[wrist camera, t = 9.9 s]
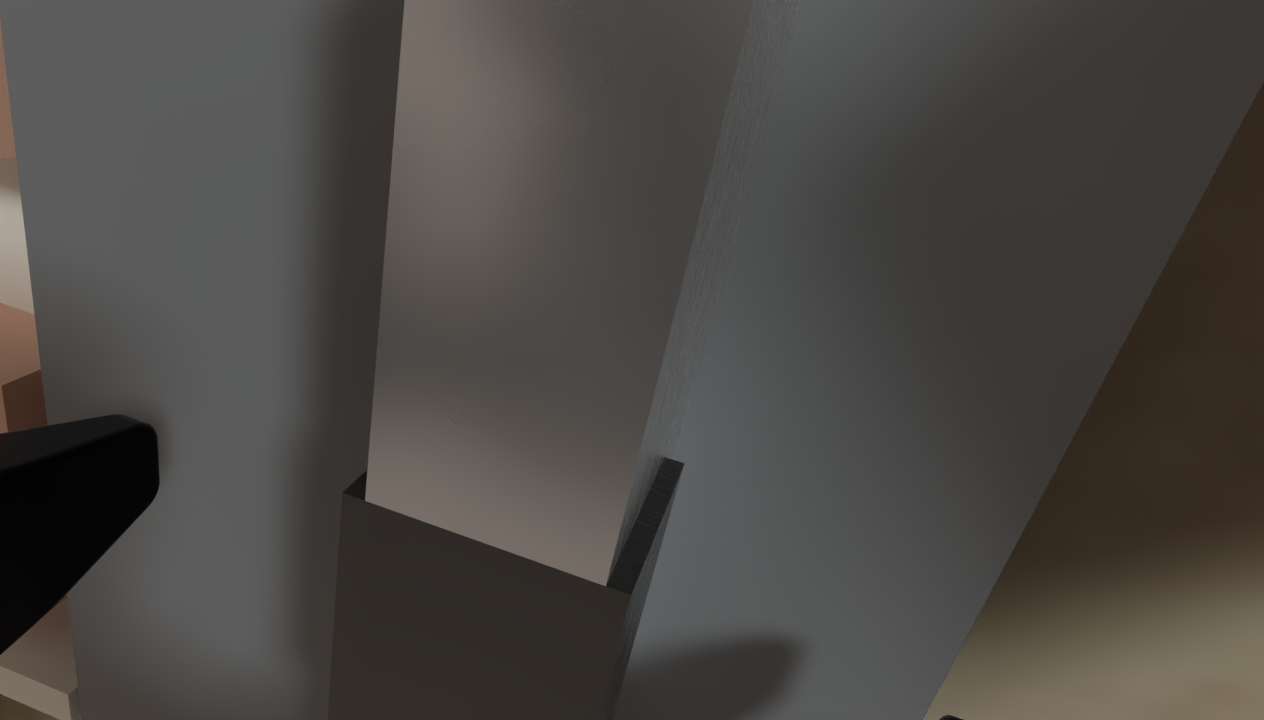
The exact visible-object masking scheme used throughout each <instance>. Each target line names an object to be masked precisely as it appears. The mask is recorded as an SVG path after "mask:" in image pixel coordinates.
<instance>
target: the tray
mask: <svg viewBox="0 0 1264 720" xmlns="http://www.w3.org/2000/svg"><path fill="white" fill-rule="evenodd" d="M0 303H3V304H6V305H8V306H11V307H14V308H17V309H20V310H23V311H25V312H28V313H31V314H34V306H33V297H32V289H31V280H30V271H29V263H28V254H27V246H26V237H25V229H24V220H23V211H22V203H21V194H20V186H19V177H18V169H17V160H16V157H14V158H7V159H1V160H0ZM34 315H35V314H34ZM0 694H1V695H4V696H6V697H8V698H11V699H13V700H15V701H18V702H20V703H22V704H25V705H27V706H29V707H31V708H34V709H36V710H38V711H41V712H43V713H45V714H48V715H50V716H52V717H55V718H57V719H59V720H78V719H79V718H80V717H81V708H80V700H79V691H78V683H77V674H76V666H75V657H74V648H73V640H72V631H71V623H70V614H69V606H68V598H66V599H65V600H64V601H62V602H61V603H60V604H58V605H57V606H55V607H54V608H53V609H51V610H50V611H49V612H48V613H47V614H46V615H45V616H44V617H43V618H42V619H40V620H39V621H38V622H37V623H36V624H35V625H34V626H33V627H32V628H31V629H29V630H28V631H27V632H26V633H25V634H24V635H23V636H22V637H21V638H19V639H18V640H17V641H16V642H15V643H14V644H13V645H12V646H10V647H9V648H8V649H7V650H6V651H5V652H4V653H3V654H1V655H0Z"/></svg>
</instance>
